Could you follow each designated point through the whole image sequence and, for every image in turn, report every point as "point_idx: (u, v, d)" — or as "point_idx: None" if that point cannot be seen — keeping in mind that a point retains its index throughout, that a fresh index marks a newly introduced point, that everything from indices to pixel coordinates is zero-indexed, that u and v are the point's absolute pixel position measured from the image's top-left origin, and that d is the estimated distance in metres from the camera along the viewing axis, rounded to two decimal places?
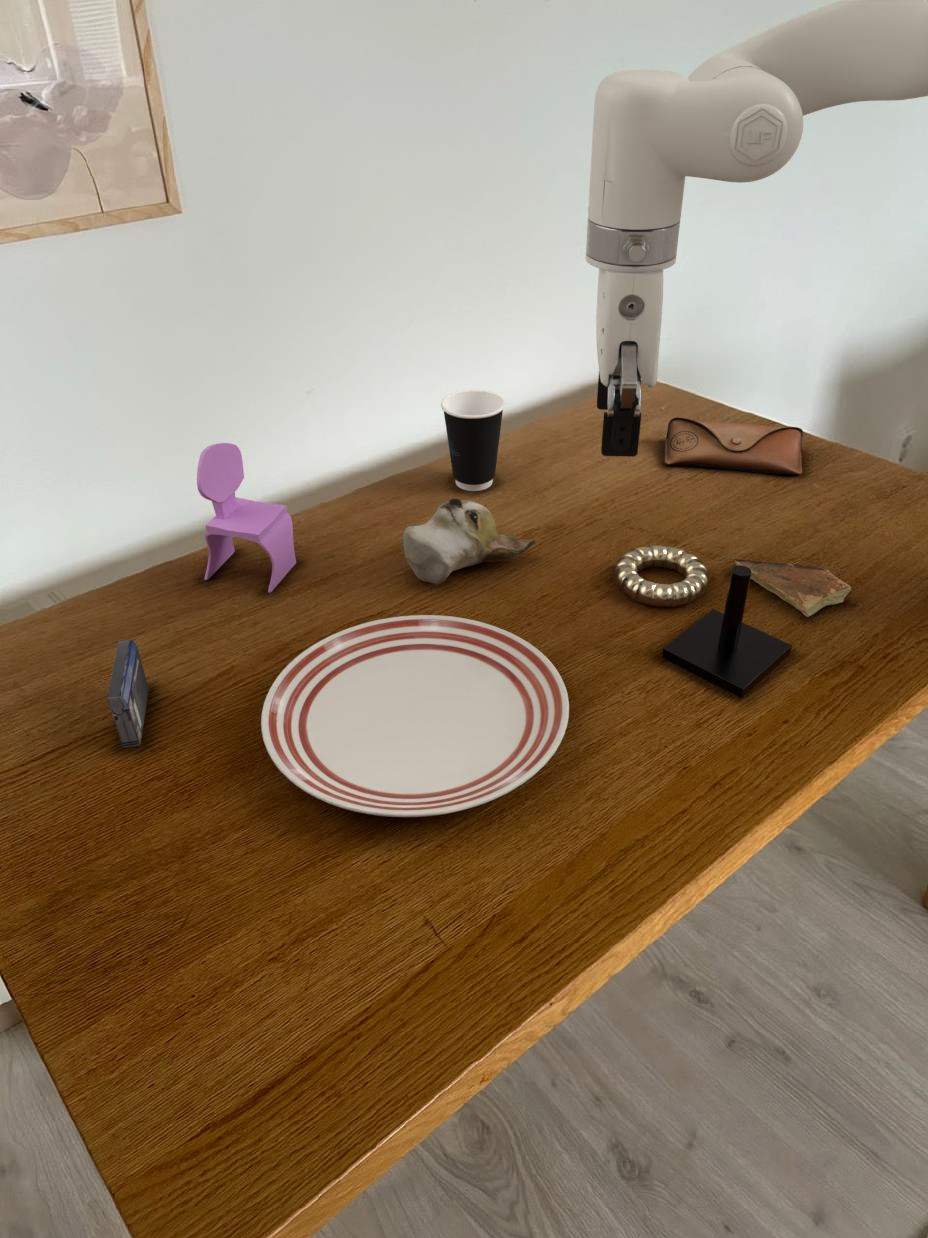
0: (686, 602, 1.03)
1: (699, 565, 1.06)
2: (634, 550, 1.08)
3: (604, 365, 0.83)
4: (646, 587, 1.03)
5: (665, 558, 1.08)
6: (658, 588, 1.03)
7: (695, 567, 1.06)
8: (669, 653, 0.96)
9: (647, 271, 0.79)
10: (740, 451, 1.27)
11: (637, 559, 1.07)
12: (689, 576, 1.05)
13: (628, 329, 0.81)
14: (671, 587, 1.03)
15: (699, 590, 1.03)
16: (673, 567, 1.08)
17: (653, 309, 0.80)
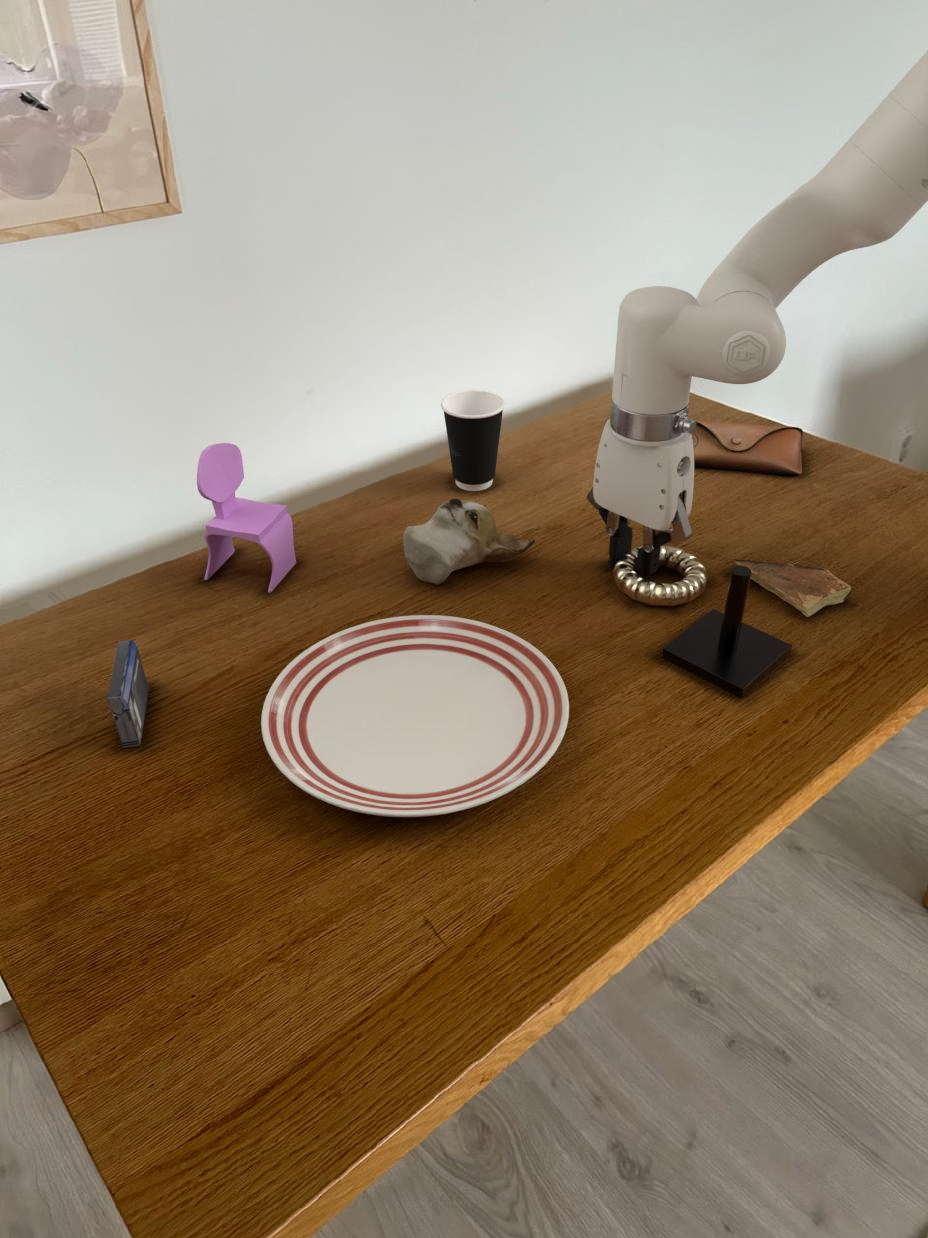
0: (685, 601, 1.03)
1: (697, 565, 1.06)
2: (633, 549, 1.09)
3: (668, 516, 1.00)
4: (645, 586, 1.03)
5: (664, 557, 1.08)
6: (657, 587, 1.03)
7: (694, 567, 1.06)
8: (669, 653, 0.96)
9: (683, 436, 0.98)
10: (740, 451, 1.27)
11: (636, 558, 1.08)
12: (688, 575, 1.05)
13: (682, 483, 0.99)
14: (670, 586, 1.03)
15: (698, 590, 1.04)
16: (672, 566, 1.09)
17: (693, 461, 0.99)
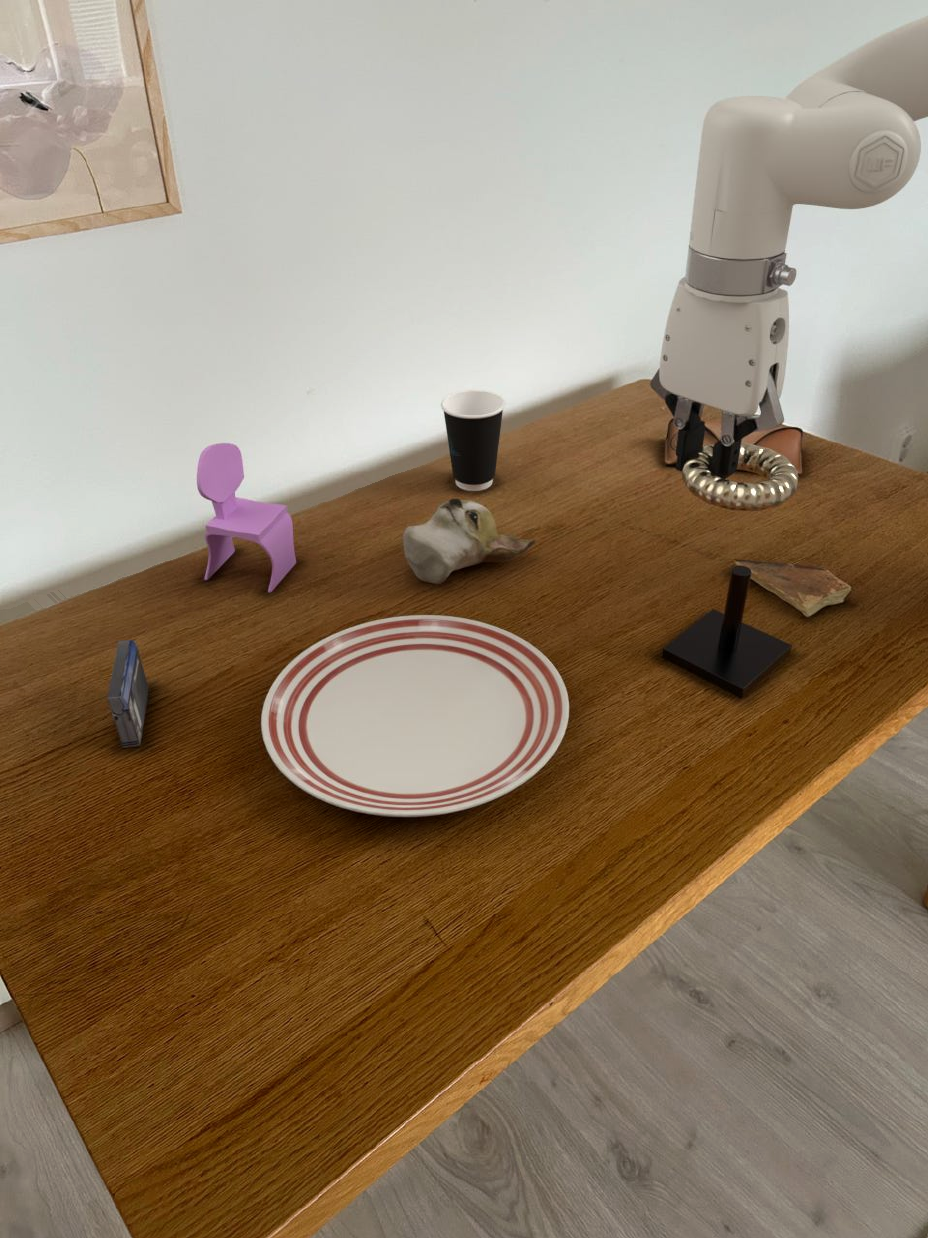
0: (773, 505, 0.84)
1: (786, 463, 0.87)
2: (705, 447, 0.90)
3: (756, 395, 0.81)
4: (724, 486, 0.84)
5: (743, 457, 0.90)
6: (739, 487, 0.84)
7: (782, 465, 0.87)
8: (669, 653, 0.96)
9: (777, 292, 0.79)
10: None
11: (709, 457, 0.89)
12: (775, 475, 0.86)
13: (775, 352, 0.80)
14: (755, 486, 0.84)
15: (789, 491, 0.85)
16: (752, 468, 0.90)
17: (788, 326, 0.80)
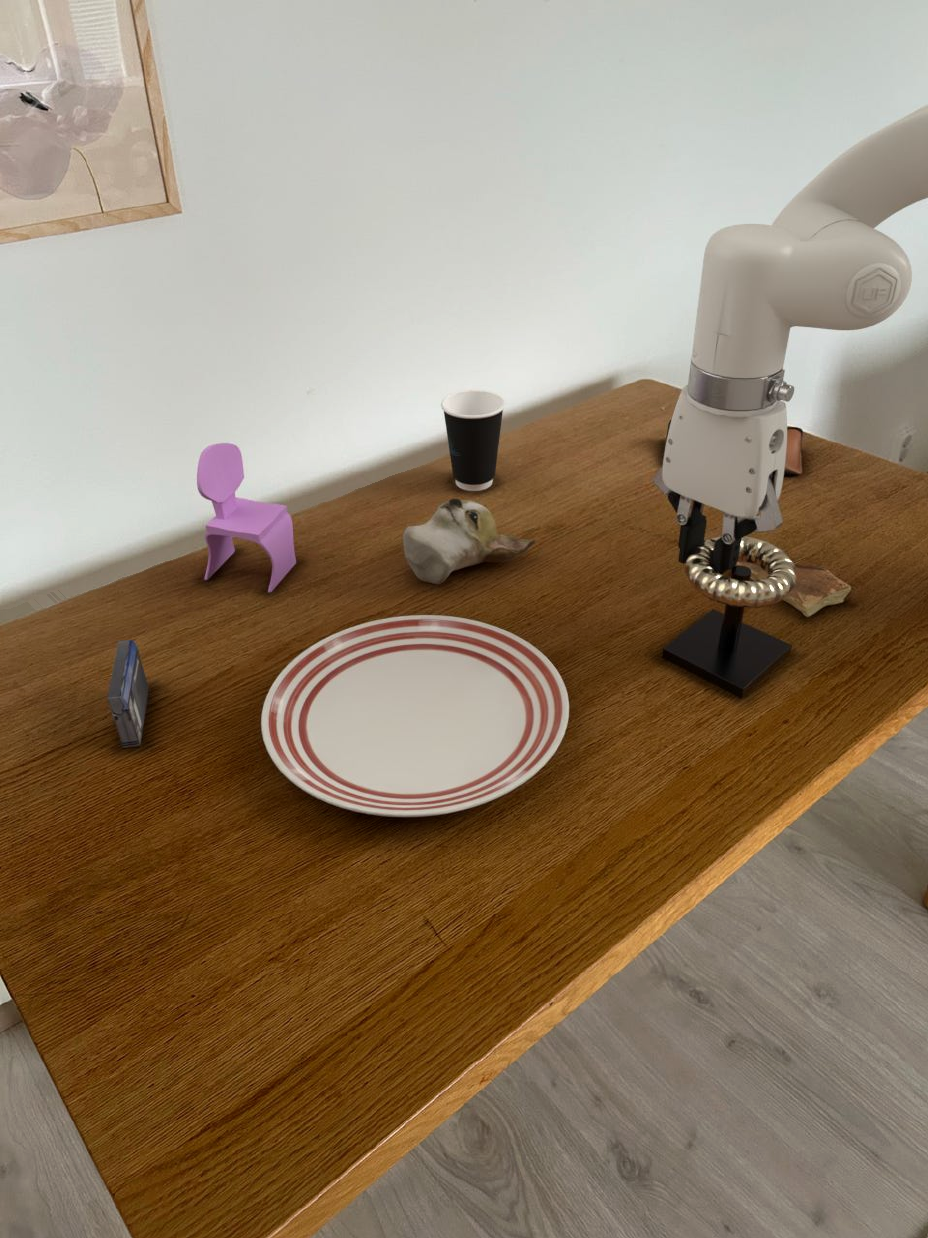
0: (772, 602, 0.88)
1: (784, 559, 0.91)
2: (706, 541, 0.93)
3: (756, 501, 0.84)
4: (726, 585, 0.88)
5: (743, 550, 0.93)
6: (740, 586, 0.87)
7: (780, 561, 0.90)
8: (669, 653, 0.96)
9: (776, 405, 0.82)
10: None
11: (711, 552, 0.92)
12: (774, 571, 0.89)
13: (774, 461, 0.83)
14: (756, 584, 0.87)
15: (788, 588, 0.88)
16: (752, 561, 0.93)
17: (786, 435, 0.84)
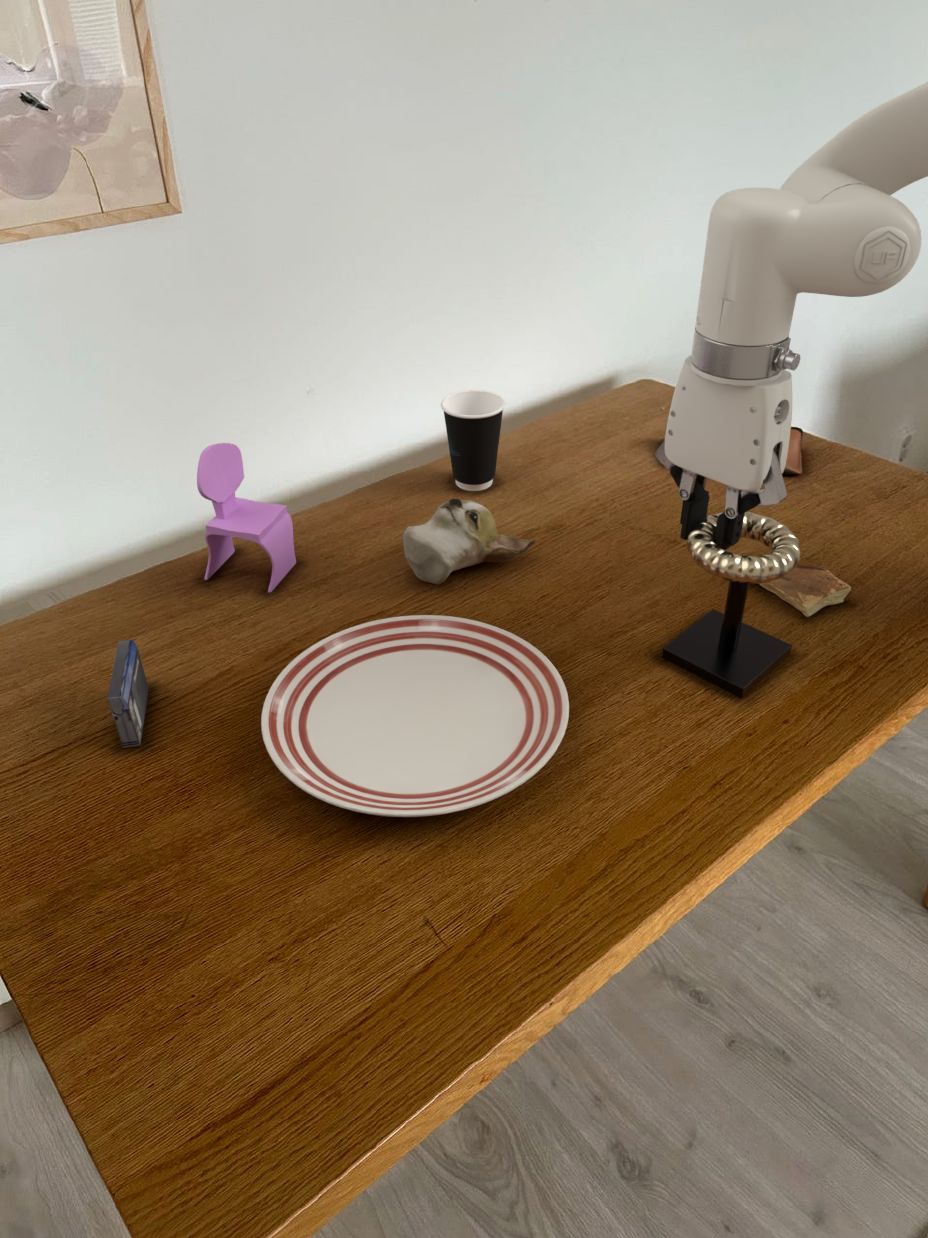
0: (776, 578, 0.86)
1: (788, 535, 0.89)
2: (709, 517, 0.91)
3: (760, 473, 0.83)
4: (729, 560, 0.86)
5: (746, 526, 0.91)
6: (744, 561, 0.86)
7: (784, 537, 0.89)
8: (669, 653, 0.96)
9: (781, 374, 0.81)
10: None
11: (713, 527, 0.90)
12: (778, 547, 0.88)
13: (779, 432, 0.82)
14: (759, 560, 0.86)
15: (792, 564, 0.86)
16: (755, 537, 0.91)
17: (791, 406, 0.82)
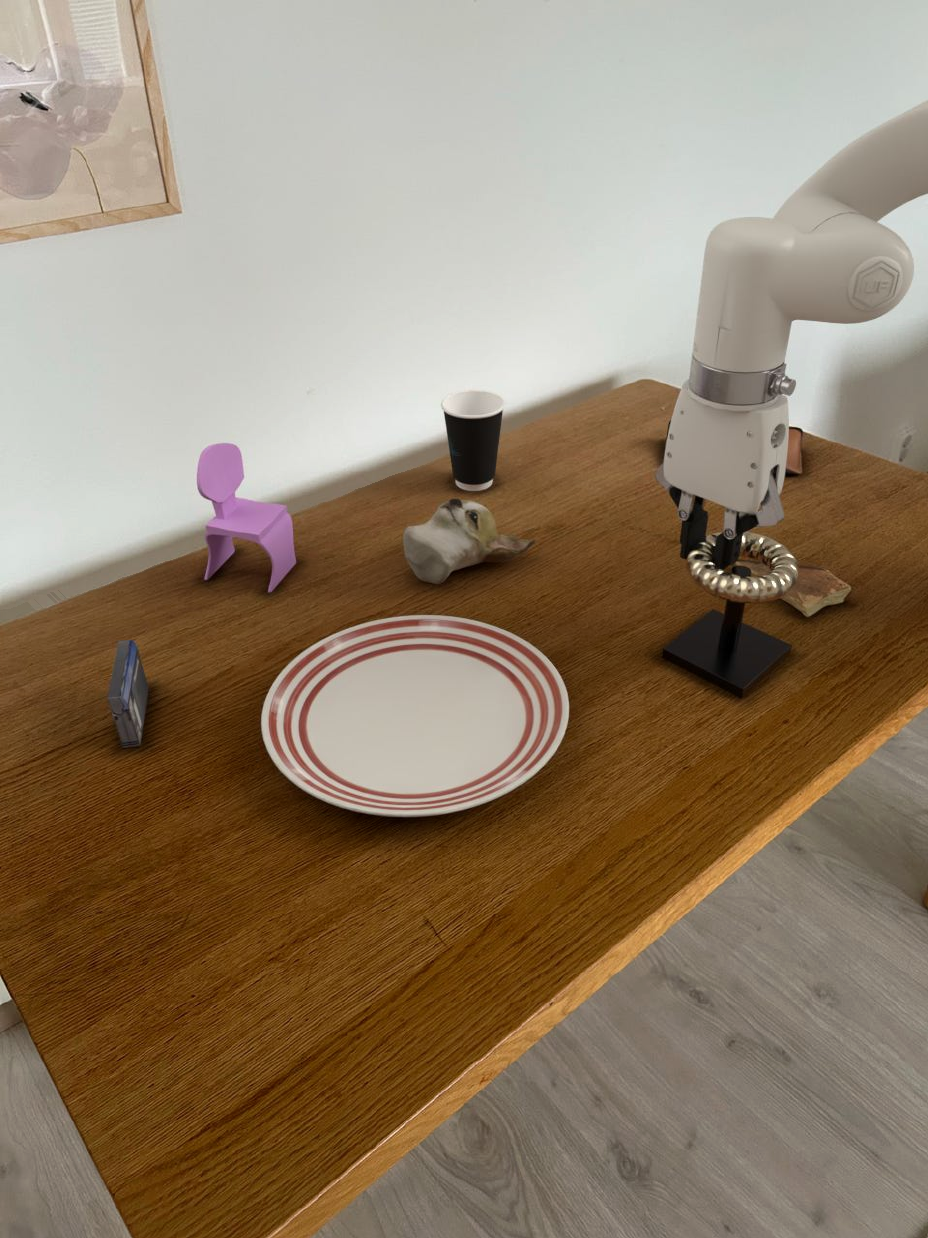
0: (774, 598, 0.88)
1: (786, 554, 0.90)
2: (708, 537, 0.93)
3: (758, 496, 0.84)
4: (728, 580, 0.87)
5: (745, 545, 0.93)
6: (742, 582, 0.87)
7: (782, 557, 0.90)
8: (669, 653, 0.96)
9: (777, 399, 0.82)
10: None
11: (712, 547, 0.92)
12: (776, 567, 0.89)
13: (775, 455, 0.83)
14: (758, 580, 0.87)
15: (790, 584, 0.88)
16: (754, 556, 0.93)
17: (788, 430, 0.83)
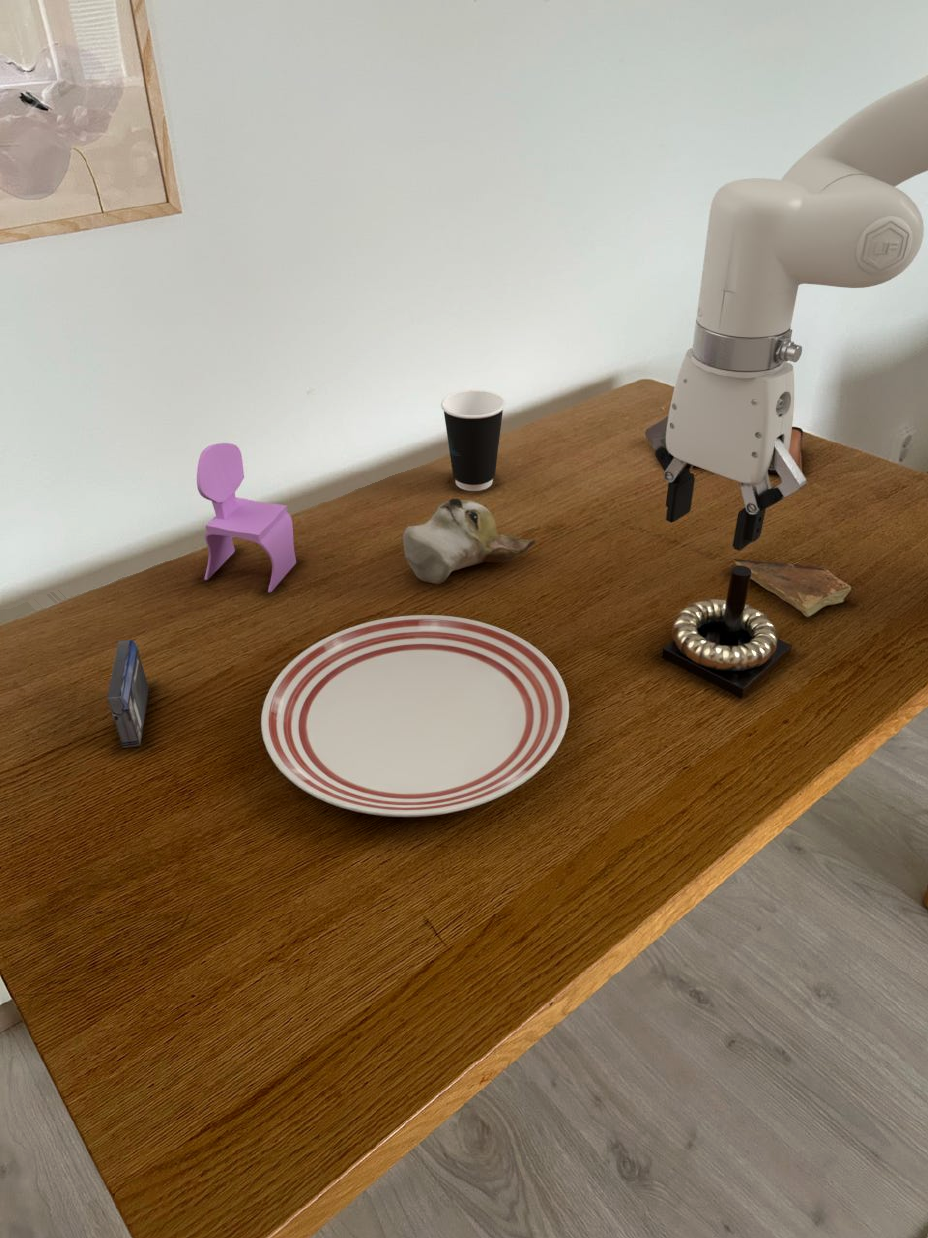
0: (755, 666, 0.93)
1: (766, 623, 0.95)
2: (692, 605, 0.98)
3: (762, 466, 0.82)
4: (711, 650, 0.92)
5: None
6: (724, 651, 0.92)
7: (762, 626, 0.95)
8: (669, 653, 0.96)
9: (783, 366, 0.80)
10: None
11: (696, 616, 0.97)
12: (757, 636, 0.94)
13: (781, 425, 0.81)
14: (739, 650, 0.92)
15: (769, 652, 0.93)
16: None
17: (793, 399, 0.82)
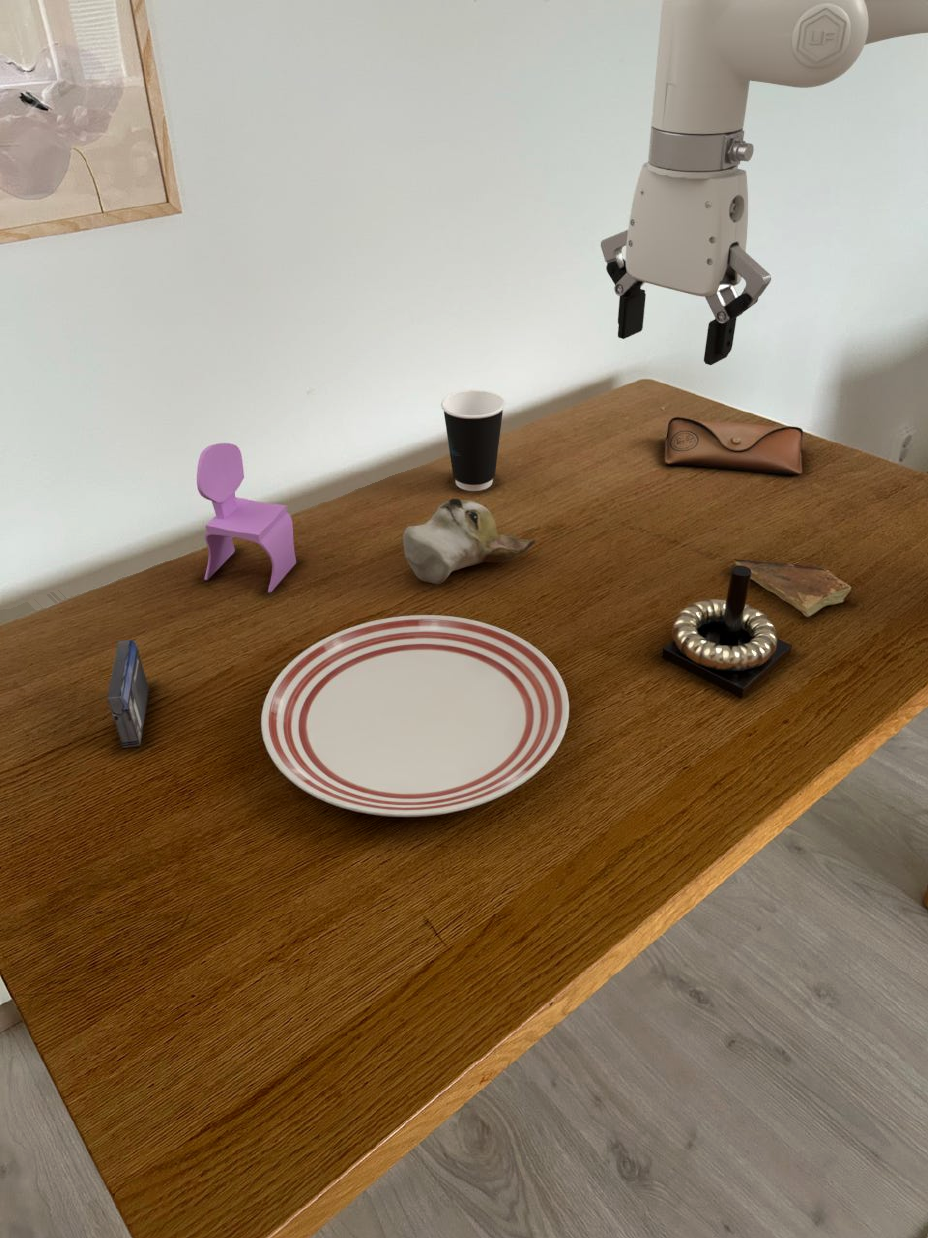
0: (755, 666, 0.93)
1: (766, 623, 0.95)
2: (692, 605, 0.98)
3: (717, 273, 0.84)
4: (711, 650, 0.92)
5: None
6: (724, 651, 0.92)
7: (762, 626, 0.95)
8: (669, 653, 0.96)
9: (736, 171, 0.82)
10: (740, 450, 1.27)
11: (696, 616, 0.97)
12: (757, 636, 0.94)
13: (734, 231, 0.83)
14: (739, 650, 0.92)
15: (769, 652, 0.93)
16: None
17: (747, 206, 0.83)
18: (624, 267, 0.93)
